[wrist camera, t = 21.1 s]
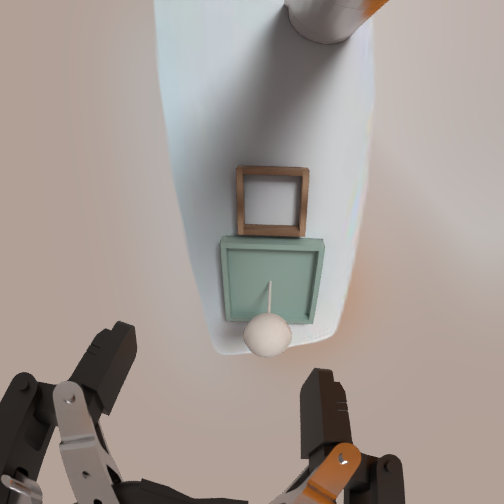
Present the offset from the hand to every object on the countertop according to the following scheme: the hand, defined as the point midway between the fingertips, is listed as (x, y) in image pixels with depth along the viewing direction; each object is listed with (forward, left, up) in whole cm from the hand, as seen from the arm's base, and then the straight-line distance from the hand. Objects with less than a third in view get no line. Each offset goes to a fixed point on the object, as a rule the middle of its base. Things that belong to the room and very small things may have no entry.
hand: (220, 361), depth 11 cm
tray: (+14, -8, -30) cm, 34 cm away
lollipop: (+14, -8, -30) cm, 34 cm away
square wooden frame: (+3, 0, -30) cm, 30 cm away
